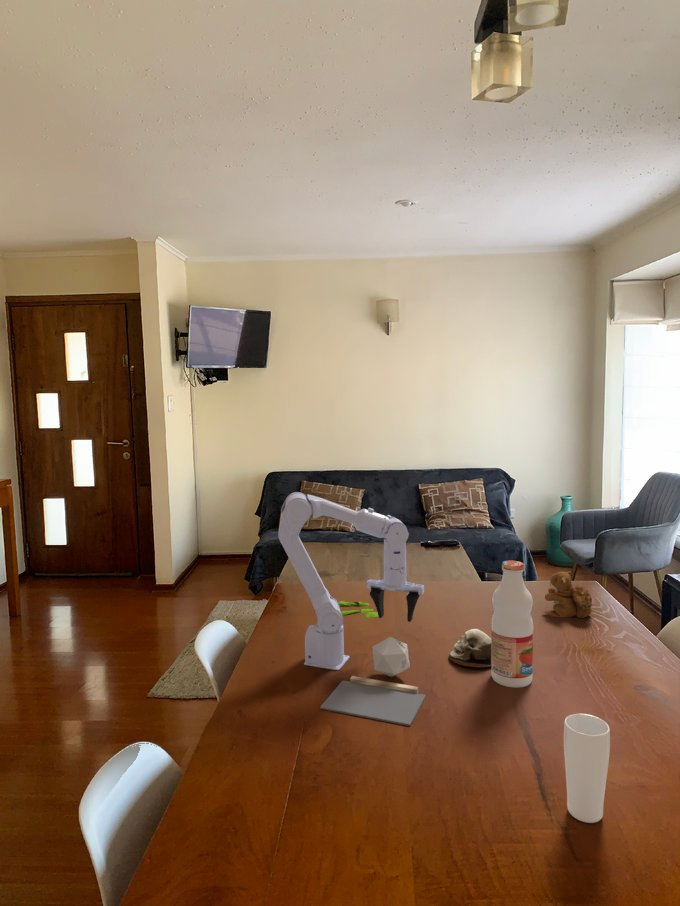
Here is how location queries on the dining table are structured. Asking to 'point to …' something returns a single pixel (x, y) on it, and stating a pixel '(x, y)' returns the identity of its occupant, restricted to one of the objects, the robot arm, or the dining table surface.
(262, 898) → the dining table surface
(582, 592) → the stuffed squirrel
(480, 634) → the skull
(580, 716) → the drinking glass
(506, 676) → the fruit juice
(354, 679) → the stop bar
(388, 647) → the die
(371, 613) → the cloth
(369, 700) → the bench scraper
